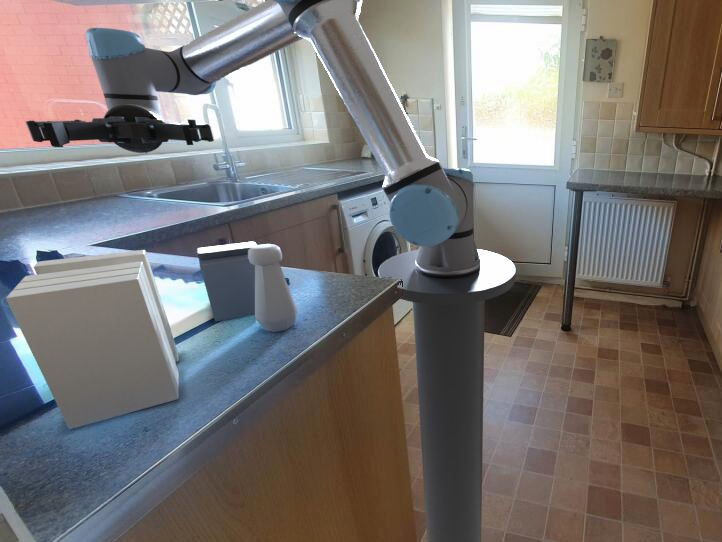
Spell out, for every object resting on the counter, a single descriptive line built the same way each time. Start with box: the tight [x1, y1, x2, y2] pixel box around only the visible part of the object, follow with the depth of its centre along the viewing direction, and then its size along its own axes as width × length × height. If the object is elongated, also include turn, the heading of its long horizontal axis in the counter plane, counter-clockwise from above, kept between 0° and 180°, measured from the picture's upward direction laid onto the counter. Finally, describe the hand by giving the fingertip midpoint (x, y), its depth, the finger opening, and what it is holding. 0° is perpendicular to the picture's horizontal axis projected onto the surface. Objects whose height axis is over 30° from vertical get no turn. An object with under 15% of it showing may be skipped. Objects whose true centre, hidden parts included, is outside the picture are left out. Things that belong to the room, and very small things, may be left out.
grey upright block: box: [196, 241, 258, 323], centre depth 67 cm, size 8×8×10 cm
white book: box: [33, 249, 180, 363], centre depth 49 cm, size 9×2×15 cm, turn 127°
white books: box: [5, 262, 180, 430], centre depth 44 cm, size 9×6×15 cm
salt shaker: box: [248, 243, 298, 333], centre depth 62 cm, size 6×6×13 cm
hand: (124, 134), depth 55 cm, fingers open, 13 cm apart
